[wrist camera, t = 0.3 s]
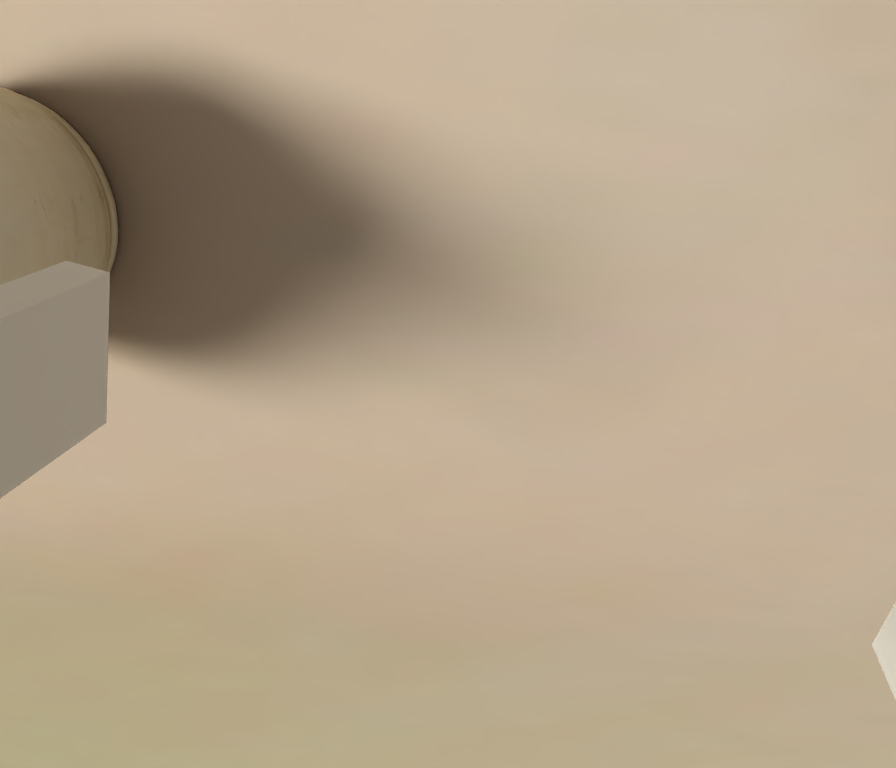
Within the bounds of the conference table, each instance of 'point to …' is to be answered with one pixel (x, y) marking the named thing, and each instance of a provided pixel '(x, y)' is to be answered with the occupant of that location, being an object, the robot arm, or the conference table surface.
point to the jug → (50, 193)
